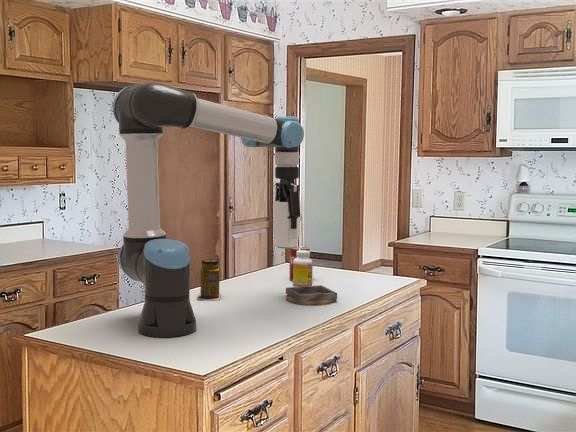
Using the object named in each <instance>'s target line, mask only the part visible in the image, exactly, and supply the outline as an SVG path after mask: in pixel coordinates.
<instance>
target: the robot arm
mask: <svg viewBox="0 0 576 432" xmlns="http://www.w3.org/2000/svg"><path fill="white" fill-rule="evenodd" d="M111 109H112V114H113V117H114V119H115V121H116V122H117V123H118V130H119V131H118V134H119V136H120V137H121V138H122V139H123V140H124V142H125V165H126V191H127V193H126V196H127V217H128V218H127V219H128V220H127V221H128V224H127V225H128V228H127V229H126V230H125V232H124V233H123V234H122V235H123V236H122V239H123V240H122V242H123V243H122V245H121V247H120V249H119V251H118V255H117V256H118V257H117V258H118V265H119V267H120V269H121V271H122V272H123V273H124V274H125V275H126V276H127V277H129V278H130V279H132V280H134V281H136V282H139V283H142V284H144V304H143V306H142V309H141V313H140V316H139V319H138V321H137V322H138V323H137V327H138V328H137V330H138V333H139V334H141V335H143V336H147V337H153V338H173V337H174V338H175V337H181V336H186V335H189V334H192V333H194V332H196V330H197V319H196V315H195V313H194V309H193V307H192V304H191V300H190V299H191V298H190V297H191V296H190V290H191V289H190V286H191V285H190V283H191V282H190V279H191V278H190V273H191V271H190V267H191V266H190V265H191V263H190V262H191V256H190V249H189V246H188V245H187V244H186V243H185V242H183V241H180V240H177V239H170V238H167V233H166V232H165V230H164V229H162V228H161V216H160V212H161V211H160V189H159V188H160V181H159V179H160V178H159V149H158V148H159V146H158V142H159V139H160V138H161V137H163V135H164V129H163V128H164V127H165V128H167V127H169V128H170V127H171V128H179V129H184V130H187V129H189V128H190V127H193V128H196V129H201V130H205V131H211V132H215V133H219V134H224V135H229V136H232V137H237V138H240V140H241V143H242V145H243V146H244V147H246V148H247V147H248V148H274V150H275V152H274V165H276V166H275V167H274V178H275V179H277V180H279V182H275V197H274V201H280V202H288V211H289V216H288V217H287V218H288V239H289V240H290V239H297V218H298V217H300V218H301V201H300V194H299V193H300V185H299V184H296V183H295V179H296V180H297V179H299V178H300V167H299V164H300V158H301V155H300V145H301V144H302V143H303V141H304V137H305V132H304V128H303V126H302V124H301V123H300V120H299V117H297V116H294V115H293V116H289V115H287V116H282V115H281V116H280V115H279V116H276V117H275V118H274V117H270V116H268V115H263V114H260V113H256V112H252V111H247V110H244V109H240V108H236V107H232V106H230V105H229V106H228V105H225V104H220V103H219V102H218V103H217V102H213V101H209V100H205V99H202V98H198V97H197V96H196V94H195V93H194V92H190V91H187V90H184V89H180V88H177V87H174V86H171V85H167V84H164V83H160V82H154V81H151V82H145V83H137V84H130V85H128V86H126V87H124V88H122V89H121V90H119V91H118V92H117V94H116V95H115V97H114V98H113V101H112V108H111ZM299 201H300V202H299Z"/></svg>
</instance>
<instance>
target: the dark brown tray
mask: <svg viewBox="0 0 576 432" xmlns="http://www.w3.org/2000/svg"><path fill="white" fill-rule="evenodd" d="M285 294H286V295H285V300H286V301H287V302H288V303H290V304H294V305H301V306H325V305H326V306H327V305H331V304H333V303H335V302H336V301H337V300H338V292H336V291H334V290H332V289H330V288H328V287H326V286H323V285H321V284H320V285H312V286H303V287H293V286H291V287H285Z"/></svg>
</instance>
